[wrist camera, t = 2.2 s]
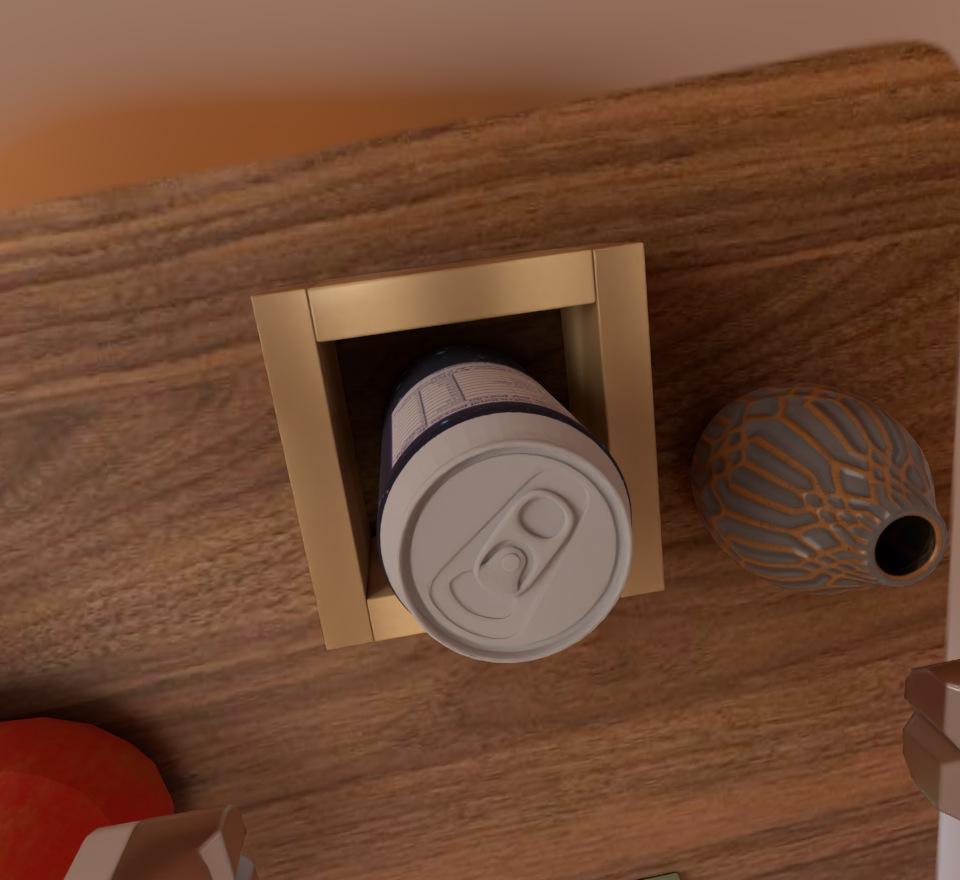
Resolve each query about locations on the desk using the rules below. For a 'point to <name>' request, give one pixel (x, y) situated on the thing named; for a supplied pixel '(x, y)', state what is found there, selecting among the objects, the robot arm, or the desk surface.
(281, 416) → the holder
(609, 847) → the desk surface
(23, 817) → the apple
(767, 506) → the vase
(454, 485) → the beverage can
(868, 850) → the desk surface
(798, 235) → the desk surface
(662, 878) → the mat
